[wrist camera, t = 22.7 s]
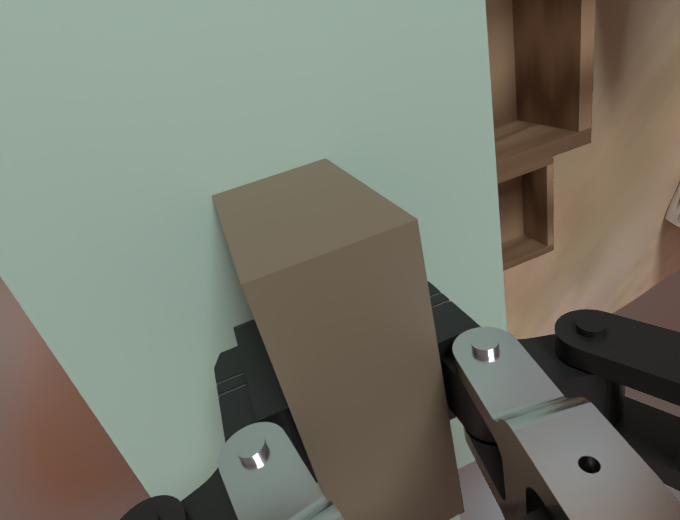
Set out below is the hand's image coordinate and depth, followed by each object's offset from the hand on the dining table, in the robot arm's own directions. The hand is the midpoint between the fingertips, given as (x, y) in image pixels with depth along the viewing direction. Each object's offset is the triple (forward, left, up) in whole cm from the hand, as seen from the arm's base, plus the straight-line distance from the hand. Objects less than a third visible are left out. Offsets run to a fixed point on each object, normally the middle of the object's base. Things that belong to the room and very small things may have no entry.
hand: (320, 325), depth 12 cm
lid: (+4, 0, -4) cm, 5 cm away
